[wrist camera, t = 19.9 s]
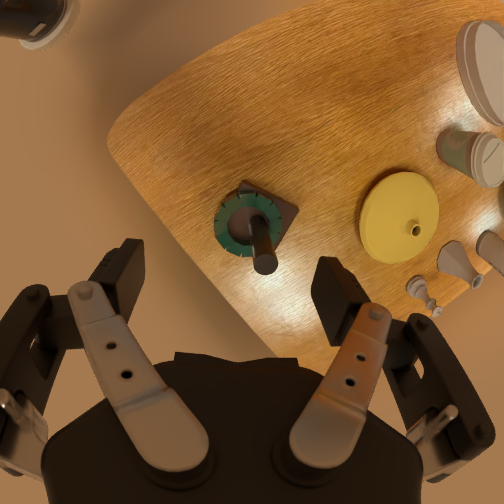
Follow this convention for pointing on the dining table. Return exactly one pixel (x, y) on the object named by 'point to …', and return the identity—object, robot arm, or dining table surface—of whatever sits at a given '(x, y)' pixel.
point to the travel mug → (491, 250)
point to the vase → (398, 217)
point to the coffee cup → (474, 155)
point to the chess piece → (422, 294)
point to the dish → (483, 67)
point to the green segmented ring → (234, 204)
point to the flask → (458, 264)
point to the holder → (260, 229)
